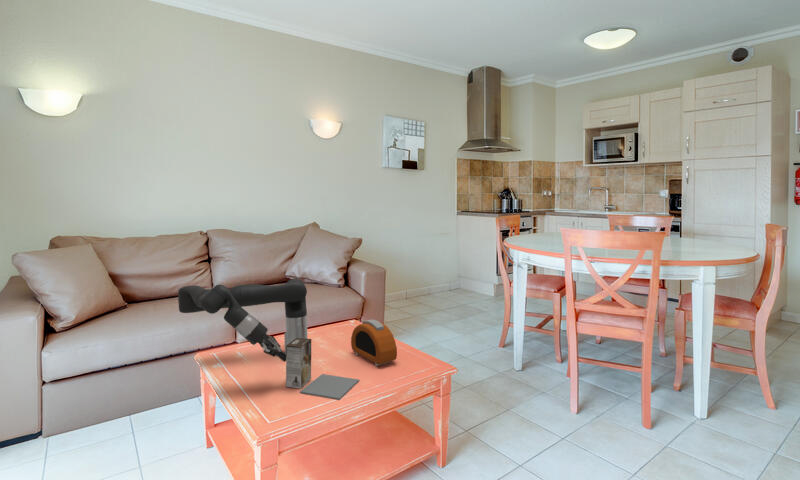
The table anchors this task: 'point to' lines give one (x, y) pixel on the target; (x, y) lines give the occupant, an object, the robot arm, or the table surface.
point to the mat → (330, 386)
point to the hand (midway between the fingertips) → (286, 359)
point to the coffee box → (298, 362)
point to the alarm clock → (374, 342)
